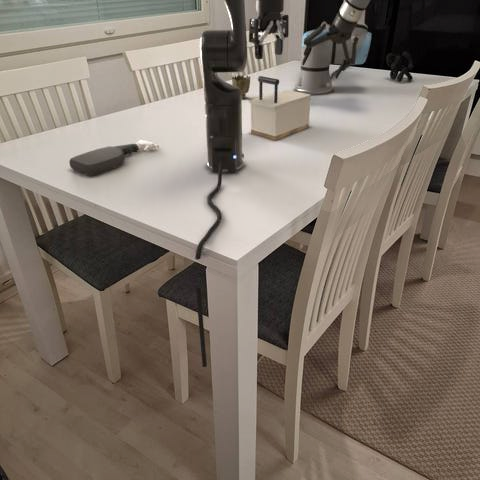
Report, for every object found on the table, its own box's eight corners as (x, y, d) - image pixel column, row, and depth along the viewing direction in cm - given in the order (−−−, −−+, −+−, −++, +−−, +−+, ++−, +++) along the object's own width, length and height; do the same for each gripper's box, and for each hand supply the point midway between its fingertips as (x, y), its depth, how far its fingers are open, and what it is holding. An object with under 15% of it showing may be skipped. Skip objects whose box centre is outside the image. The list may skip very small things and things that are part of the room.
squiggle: (400, 92, 202) (376, 71, 205) (417, 76, 202) (392, 56, 205) (405, 81, 191) (380, 59, 194) (423, 64, 191) (397, 42, 194)
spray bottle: (67, 168, 120) (139, 144, 136) (91, 178, 114) (163, 151, 130) (65, 157, 118) (137, 134, 134) (89, 167, 112) (162, 142, 128)
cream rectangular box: (275, 140, 136) (276, 108, 131) (250, 133, 142) (250, 102, 137) (308, 127, 146) (310, 97, 141) (284, 121, 152) (285, 92, 147)
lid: (274, 109, 131) (275, 81, 126) (249, 103, 137) (249, 76, 133) (310, 97, 141) (312, 71, 137) (285, 92, 147) (286, 67, 143)
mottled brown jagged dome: (228, 98, 178) (228, 78, 173) (237, 94, 183) (237, 74, 179) (245, 101, 175) (245, 79, 170) (253, 96, 180) (253, 75, 176)
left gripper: (276, -10, 126) (275, 52, 135) (241, -7, 118) (242, 58, 126) (297, -9, 122) (294, 54, 130) (262, -6, 113) (262, 62, 122)
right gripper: (314, 7, 145) (288, 63, 162) (381, 35, 150) (349, 87, 166) (315, -3, 150) (289, 52, 166) (380, 25, 154) (349, 76, 171)
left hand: (268, 56), depth 128 cm, fingers open, 8 cm apart
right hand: (319, 70), depth 166 cm, fingers open, 13 cm apart
